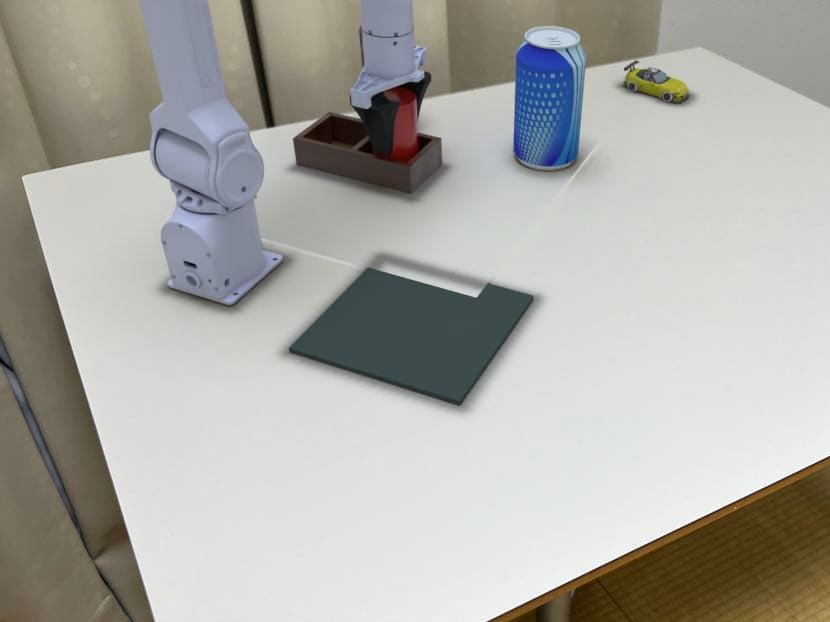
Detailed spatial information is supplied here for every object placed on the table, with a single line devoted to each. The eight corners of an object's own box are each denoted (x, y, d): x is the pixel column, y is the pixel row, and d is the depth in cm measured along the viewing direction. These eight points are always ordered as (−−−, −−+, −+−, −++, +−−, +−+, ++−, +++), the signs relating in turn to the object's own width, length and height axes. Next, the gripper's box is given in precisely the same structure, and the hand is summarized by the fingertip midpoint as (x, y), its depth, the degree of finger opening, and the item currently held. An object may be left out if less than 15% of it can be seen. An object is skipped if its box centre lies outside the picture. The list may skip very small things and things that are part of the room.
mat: (459, 405, 81) (459, 401, 80) (289, 351, 85) (288, 347, 85) (533, 299, 93) (533, 295, 93) (381, 257, 97) (381, 253, 97)
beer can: (501, 165, 114) (503, 39, 103) (531, 139, 120) (537, 18, 109) (559, 182, 112) (568, 55, 101) (588, 156, 117) (599, 33, 106)
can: (406, 185, 108) (402, 110, 102) (365, 175, 109) (359, 101, 103) (427, 166, 112) (424, 92, 105) (387, 156, 113) (382, 83, 107)
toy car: (678, 106, 130) (681, 86, 128) (618, 88, 134) (621, 68, 132) (693, 94, 133) (696, 75, 131) (634, 77, 137) (637, 57, 135)
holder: (411, 198, 107) (409, 167, 104) (297, 168, 111) (292, 138, 108) (442, 168, 113) (441, 137, 110) (332, 141, 117) (329, 111, 114)
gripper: (387, 57, 93) (395, 175, 102) (448, 14, 103) (450, 125, 112) (328, 44, 94) (341, 162, 104) (394, 3, 105) (400, 113, 114)
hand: (394, 142), depth 108 cm, fingers closed on can, 5 cm apart
